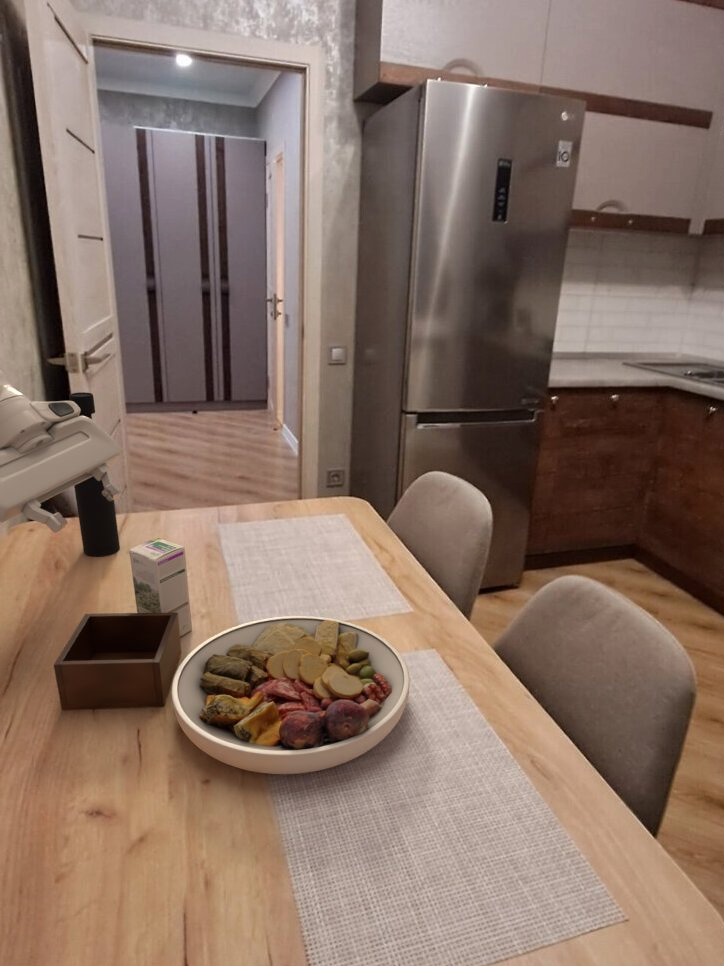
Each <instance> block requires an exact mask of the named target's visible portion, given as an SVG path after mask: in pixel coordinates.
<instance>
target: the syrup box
mask: <svg viewBox="0 0 724 966" xmlns="http://www.w3.org/2000/svg"><path fill="white" fill-rule="evenodd" d="M128 553H129V559H130V565H131V566H130V567H131V574H132V575H131V576H132V582H133V590H134V598H135V599H134V600H135V603H136V604H135V607H136V613H171V612H172V613H175V612H177V613H178V620H179V631H180V638H181V637H182V636H185V635H186V634H188V633H190V632H191V631H192V630H193V624H192V623H193V622H192V614H191V605H190V604H191V603H190V593H189V591H190V590H189V582H188V571H187V559H186V551H185V546H183V545H180V544H177V543H174V542H172V541H168V540H165V539H162V538H159V537H157V538H154V539H150V540H148V541H145V542H143V543H140V544H138V545H136V546H134V547H132V548H130V549H129V550H128Z"/></svg>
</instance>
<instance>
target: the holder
mask: <svg viewBox="0 0 724 966" xmlns="http://www.w3.org/2000/svg"><path fill="white" fill-rule="evenodd" d="M181 655H182V644H181V637H180V631H179V620H178V613H177V612H175V613H172V612H171V613H137V612H116V613H115V612H114V613H112V612H111V613H109V612H108V613H84V615H83V617H82V618H81V620H80V622H79V623H78V625H77V626H76V628H75V630H74V631H73V633H72V634H71V636H70V638H69V639H68V641H67V643H66V644H65V646H64V647H63V649H62V651H61V652H60V654H59V655H58V656H57V658H56V660H55V662H54V664H53V670H54V675H55V680H56V687H57V691H58V697H59V698H58V699H59V703H60V709H61V710H63V711H65V710H91V709H93V710H94V709H96V710H97V709H124V708H125V709H126V708H127V709H128V708H130V709H131V708H154V707H155V708H161V707H165V705H166V701H167V699H168V695H169V693H170V689H171V687H172V682H173V678H174V675H175V673H176V671H177V669H178V666H179V662H180V658H181Z"/></svg>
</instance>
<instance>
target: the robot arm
mask: <svg viewBox="0 0 724 966" xmlns="http://www.w3.org/2000/svg"><path fill="white" fill-rule="evenodd" d="M80 411H81V410H80V408H79V406H78V405H77V404H76V403H74V402H73V401H70V400H59V401H40V400H39V401H38V400H33V401H31V400H30V399H29V397H28V396H27V395H25V394H24V393H22V392H20V391H19V390H17V389H16V388H15V387H14V386H13V384H11V383H10V381H9V379H8V376H7V375H6V373H5V372H4V371H2V369H1V368H0V523H4V522H7V521H9V520H11V519H13V518H14V517H17V516H18V515H20V514H23V515H24V516H25V517H27V519H28V520H32V521H34V522H37V523H40V524H43V525H46V526H47V527H48V528H49V529H50V530H51V531H52V532H53V533H58V532H60V531H61V530H63V529H65V528H66V526H68V520H67V518H65V517H63V514H62V513H60V512H59V511H57V512H56V513H51V512H49V511H48V510H46V509H43V508H41V506H42V503H44V502H46V501H47V500H50V499H51V498H53V497H56V496H57V495H59V494H62V493H63V492H65V491H67V490H68V489H71V488H74V486H75V485H77V484H78V483H80V482H82V481H84V480H86V479H88V478H90V477H92V476H94V477H95V478H96V479H97V480H98V481H100V480H102V482H103V485H104V490H103V491H102V494H103V496H104V497H107V500H108V501H112V500H114V501H115V500H116V499H118V498H119V497H120V495H121V494H122V490H121V489H120V487H118V485H116V483H115V481H114V480H115V479H114V476H113V472H112V469H111V467H113V466H114V465H115V463H117V461H118V460H119V458H120V456H121V449H120V445H119V444H118V443H117V441H115V440H114V438H113V437H112V436H111V435H110V434H109V433H108V432H107V431H106V430H105V429H104V428H103V427H102V426H101V425H99V424H98V423H97V422H96V421H95V420H93V418H92V419H90V418H88V417H85V416H79V414H80Z"/></svg>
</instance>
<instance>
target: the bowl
mask: <svg viewBox="0 0 724 966" xmlns="http://www.w3.org/2000/svg"><path fill="white" fill-rule="evenodd" d="M410 678H411V677H410V672H409V668H408V665H407V663H406V661H405V659H404V657H403V656H402V654H401V653H400V652H399V651H398V649H397V648H396V647H395V646H394V645H393V644H392V643H390V642H389V641H388V640H387V639H385V638H384V637H383V636H381V635H379V634H377V632H374V631H372V630H370V629H369V628H366V627H364V626H361V625H357V624H356V623H355V624H354V623H352V622H348V621H344V620H340V619H336V618H330V617H324V616H312V615H286V616H285V615H284V616H277V617H276V616H275V617H269V618H262V619H258V620H253V621H252V620H251V621H249V622H244V623H242V624H239V625H236V626H233V627H230V628H228V629H225V630H223V631H221V632H219V633H216V634H214V635H213V636H211V637H209V638H207V639H206V640H204V641H203V642H202V643H200V644H199V645H198V646H196V647H194V648H193V649H192V650H191V652H189V654H187V655H186V656H185V658H183V660H182V662H180V664H179V665H178V666H177V668H176V671H175V674H174V677H173V680H172V683H171V691H170V693H171V703H172V709H173V712H174V714H175V715H174V716H175V718H176V720H177V723H178V724H179V726H180V728H181V730H182V732H183V733H184V734H185V735H186V736H187V739H189V741H190V742H191V743H193V744H194V746H196V747H197V748H199V749H200V750H201V751H202V752H204V753H205V754H207V755H208V756H210V757H211V758H213V759H215V760H217V761H219V762H221V763H223V764H226V765H228V766H232V767H234V768H238V769H241V770H245V771H249V772H253V773H260V774H269V775H270V774H271V775H296V774H297V775H298V774H306V773H313V772H317V771H323V770H327V769H330V768H334V767H337V766H340V765H343V764H345V763H347V762H350V761H352V760H354V759H356V758H358V757H360V756H362V755H364V754H365V753H367V752H368V751H370V750H372V749H373V748H374V747H376V746H377V745H378V744H379V743H380V742H382V741H383V740H384V739H385V738H386V737H387V736H388V735H389V734H390V733H391V732H392V731H393V729H394V728H395V727H396V725H397V724H398V722H400V720H401V718H402V715H403V713H404V711H405V709H406V707H407V703H408V699H409V694H410V681H411V680H410Z"/></svg>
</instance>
